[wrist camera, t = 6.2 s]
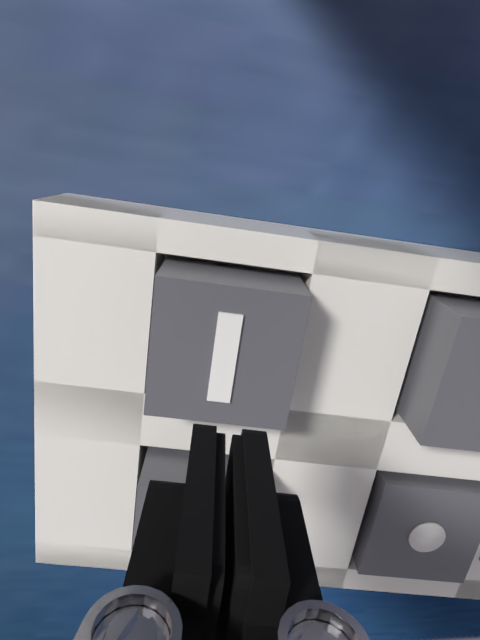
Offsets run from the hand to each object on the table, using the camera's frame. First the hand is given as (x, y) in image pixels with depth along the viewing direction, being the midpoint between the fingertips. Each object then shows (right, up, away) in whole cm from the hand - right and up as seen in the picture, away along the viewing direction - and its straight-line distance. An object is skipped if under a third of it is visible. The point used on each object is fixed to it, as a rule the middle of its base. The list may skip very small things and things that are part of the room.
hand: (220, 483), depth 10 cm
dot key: (+9, -5, +12) cm, 16 cm away
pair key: (+10, +2, +8) cm, 13 cm away
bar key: (0, +3, +7) cm, 8 cm away
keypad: (+4, 0, +12) cm, 12 cm away
